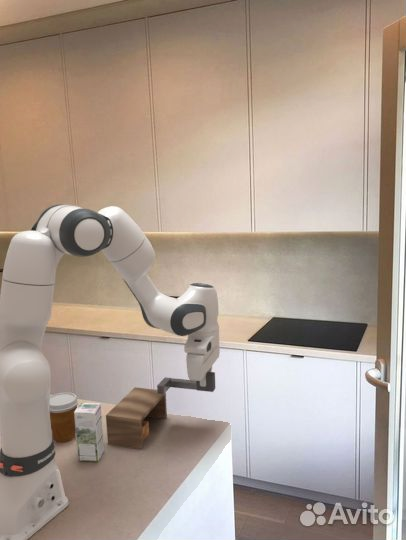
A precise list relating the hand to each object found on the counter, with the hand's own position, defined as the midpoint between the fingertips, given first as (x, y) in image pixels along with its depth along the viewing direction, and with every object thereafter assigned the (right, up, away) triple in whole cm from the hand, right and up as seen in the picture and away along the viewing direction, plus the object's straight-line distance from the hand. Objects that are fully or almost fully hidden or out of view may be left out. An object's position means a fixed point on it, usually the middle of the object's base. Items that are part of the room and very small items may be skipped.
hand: (205, 382), depth 144 cm
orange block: (-19, -16, -1) cm, 25 cm away
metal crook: (-6, -2, 0) cm, 6 cm away
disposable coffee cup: (-42, -16, 0) cm, 44 cm away
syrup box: (-31, -18, -11) cm, 37 cm away
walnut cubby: (-20, -15, +2) cm, 25 cm away
